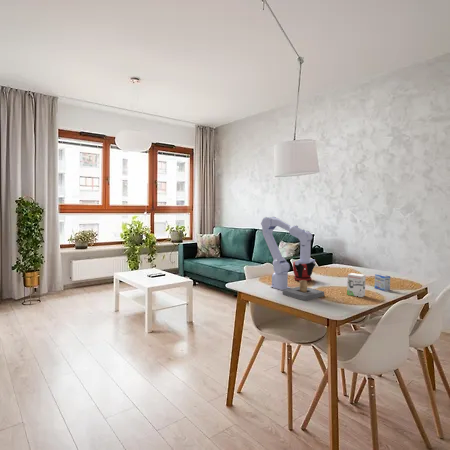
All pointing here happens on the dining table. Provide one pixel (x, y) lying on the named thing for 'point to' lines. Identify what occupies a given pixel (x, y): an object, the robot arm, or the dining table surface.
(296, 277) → the plant pot
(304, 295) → the docking block
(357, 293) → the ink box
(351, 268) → the dining table surface
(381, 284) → the medicine box
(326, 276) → the dining table surface
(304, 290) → the peg
